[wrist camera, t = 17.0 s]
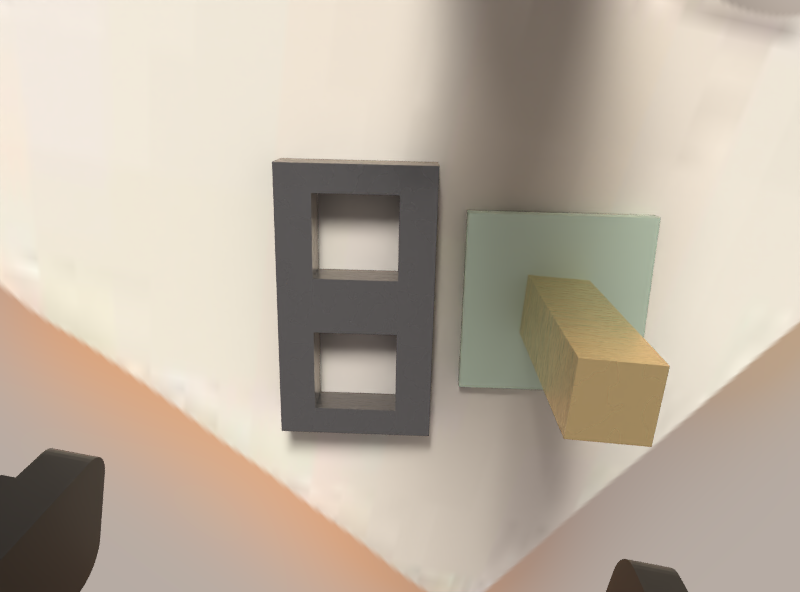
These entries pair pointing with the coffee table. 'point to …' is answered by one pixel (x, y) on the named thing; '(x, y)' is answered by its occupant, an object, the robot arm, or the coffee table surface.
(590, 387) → the plug
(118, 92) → the coffee table surface
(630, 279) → the pad
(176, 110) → the coffee table surface
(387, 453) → the coffee table surface
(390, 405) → the frame with square holes
